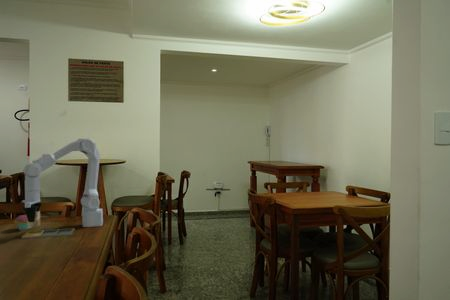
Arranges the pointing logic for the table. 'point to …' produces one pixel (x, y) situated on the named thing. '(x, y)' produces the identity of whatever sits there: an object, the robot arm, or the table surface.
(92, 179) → the robot arm
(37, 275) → the table surface
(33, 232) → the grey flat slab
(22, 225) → the cupcake
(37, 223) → the beech block
